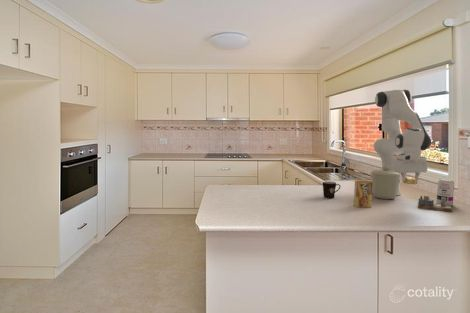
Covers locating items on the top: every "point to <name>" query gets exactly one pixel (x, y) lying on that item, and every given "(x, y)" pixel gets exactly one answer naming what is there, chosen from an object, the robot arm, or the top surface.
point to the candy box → (363, 193)
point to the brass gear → (410, 180)
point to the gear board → (437, 205)
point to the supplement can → (445, 191)
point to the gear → (426, 201)
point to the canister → (385, 183)
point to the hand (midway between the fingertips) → (410, 180)
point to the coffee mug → (329, 189)
